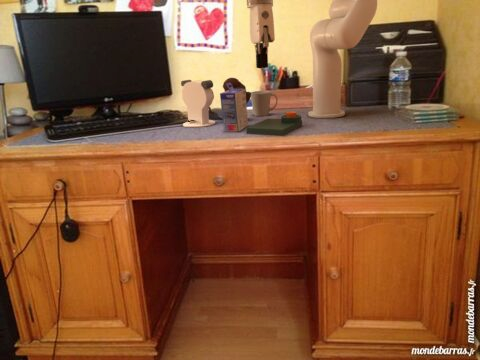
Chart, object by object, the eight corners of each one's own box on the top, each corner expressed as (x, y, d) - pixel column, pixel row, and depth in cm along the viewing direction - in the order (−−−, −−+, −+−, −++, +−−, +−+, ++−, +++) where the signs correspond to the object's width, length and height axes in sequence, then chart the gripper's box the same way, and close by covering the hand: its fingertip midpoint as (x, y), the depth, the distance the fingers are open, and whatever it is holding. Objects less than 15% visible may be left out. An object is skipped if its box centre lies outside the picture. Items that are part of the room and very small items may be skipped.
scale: (268, 124, 129) (267, 113, 128) (303, 125, 123) (303, 114, 122) (246, 133, 117) (246, 122, 116) (285, 136, 111) (284, 124, 110)
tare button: (288, 116, 123) (288, 111, 123) (297, 116, 122) (297, 111, 121) (284, 118, 121) (284, 113, 120) (293, 118, 119) (293, 113, 119)
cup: (251, 113, 150) (250, 91, 147) (277, 112, 150) (276, 89, 147) (251, 117, 143) (250, 93, 140) (278, 115, 142) (277, 92, 140)
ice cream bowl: (249, 122, 133) (247, 77, 128) (218, 123, 135) (215, 79, 130) (254, 117, 143) (252, 75, 138) (225, 117, 145) (222, 76, 140)
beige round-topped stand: (223, 122, 137) (220, 78, 132) (202, 128, 129) (197, 82, 124) (197, 120, 144) (194, 78, 139) (176, 126, 136) (171, 82, 131)
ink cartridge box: (233, 125, 130) (230, 81, 126) (248, 125, 129) (246, 80, 124) (222, 132, 122) (218, 84, 117) (238, 132, 120) (235, 84, 115)
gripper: (280, -2, 105) (282, 68, 111) (264, 4, 119) (266, 66, 125) (254, -2, 104) (257, 69, 110) (240, 5, 118) (244, 67, 124)
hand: (262, 67), depth 117 cm, fingers closed
